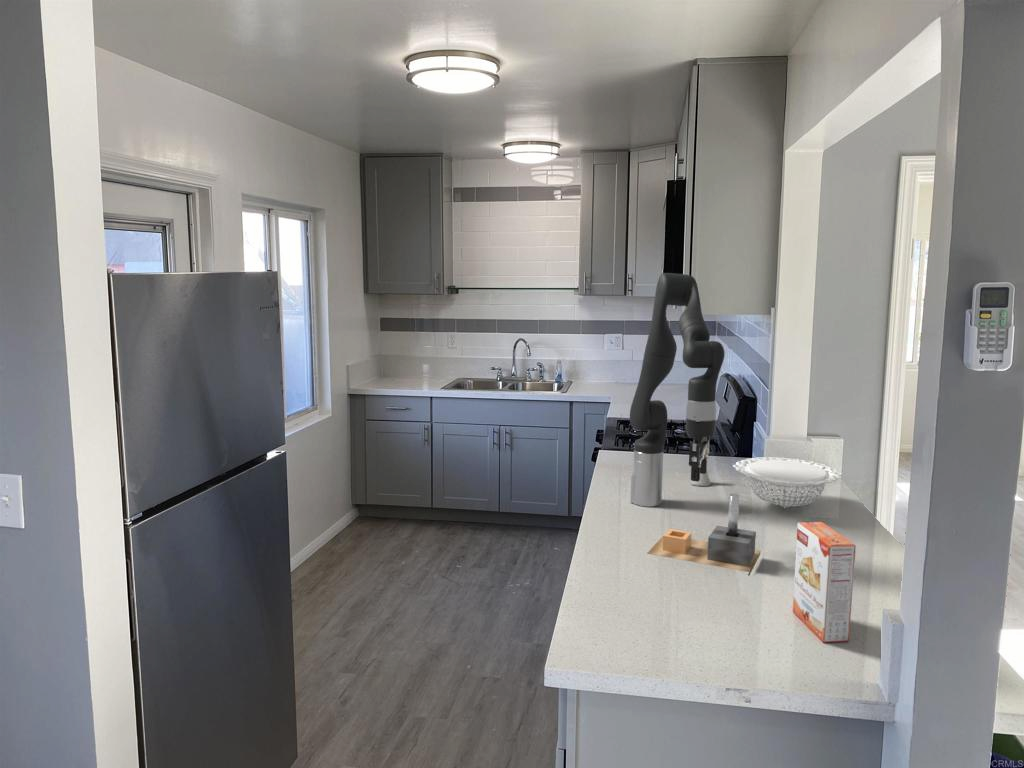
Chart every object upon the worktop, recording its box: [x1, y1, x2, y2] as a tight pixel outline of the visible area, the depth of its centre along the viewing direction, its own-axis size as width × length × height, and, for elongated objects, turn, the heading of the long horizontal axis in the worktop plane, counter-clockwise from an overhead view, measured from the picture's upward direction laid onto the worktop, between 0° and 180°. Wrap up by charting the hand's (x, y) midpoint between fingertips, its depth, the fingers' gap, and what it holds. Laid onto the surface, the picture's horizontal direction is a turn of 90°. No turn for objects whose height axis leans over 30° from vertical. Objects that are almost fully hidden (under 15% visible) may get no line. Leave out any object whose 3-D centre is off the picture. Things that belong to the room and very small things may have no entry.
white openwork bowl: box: [732, 456, 843, 508], centre depth 238 cm, size 32×32×13 cm
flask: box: [689, 471, 712, 487], centre depth 265 cm, size 7×7×10 cm
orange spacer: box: [662, 528, 692, 554], centre depth 201 cm, size 6×6×4 cm
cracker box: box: [792, 521, 857, 643], centre depth 158 cm, size 14×6×21 cm, turn 5°
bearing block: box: [646, 525, 761, 576], centre depth 199 cm, size 26×16×7 cm, turn 63°
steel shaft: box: [727, 493, 740, 537], centre depth 195 cm, size 2×2×11 cm
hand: (698, 477), depth 201 cm, fingers open, 8 cm apart
